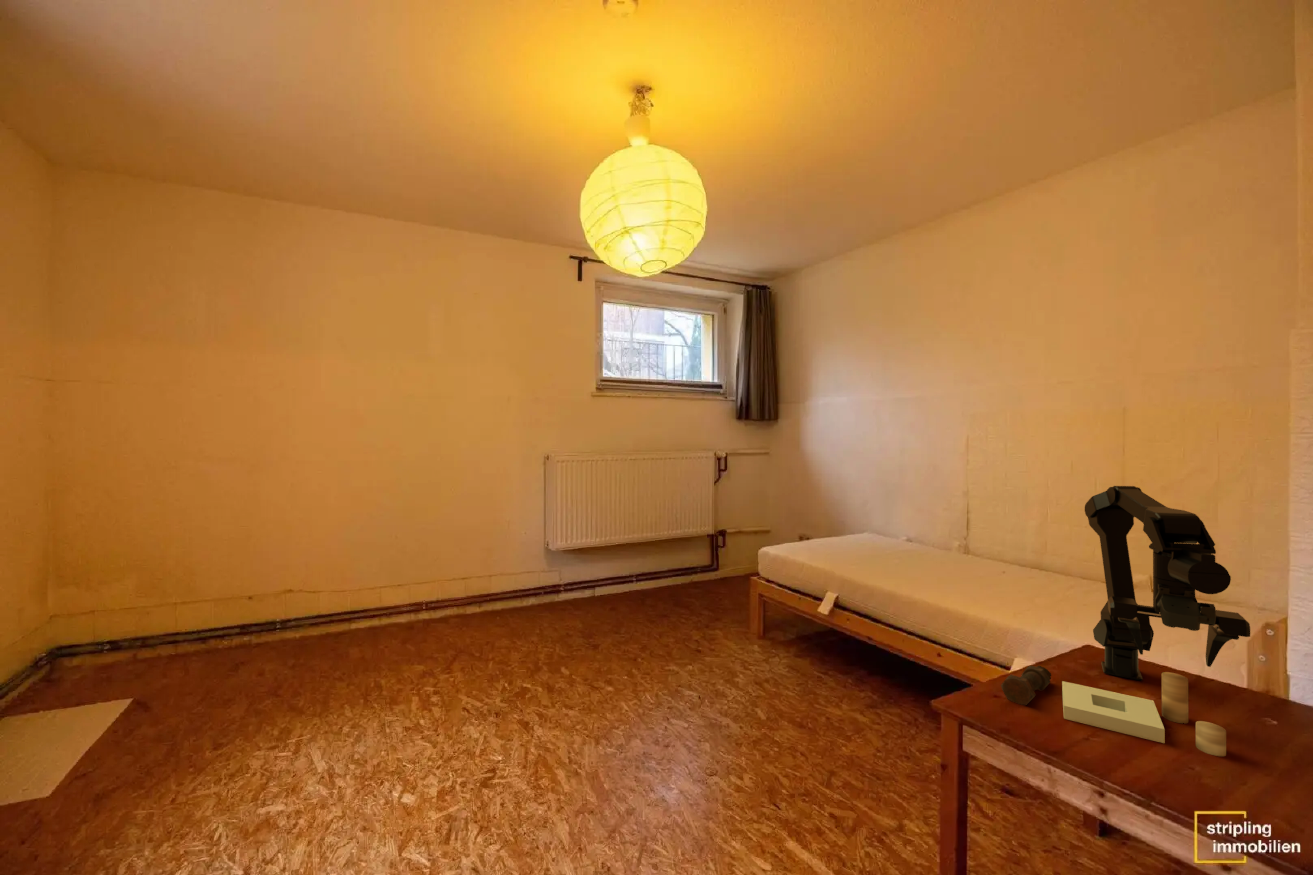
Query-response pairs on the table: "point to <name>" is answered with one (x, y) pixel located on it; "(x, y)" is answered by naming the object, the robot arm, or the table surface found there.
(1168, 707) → the long pin
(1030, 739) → the table surface
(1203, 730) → the short pin
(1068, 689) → the board
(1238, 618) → the robot arm
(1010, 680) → the bolt
